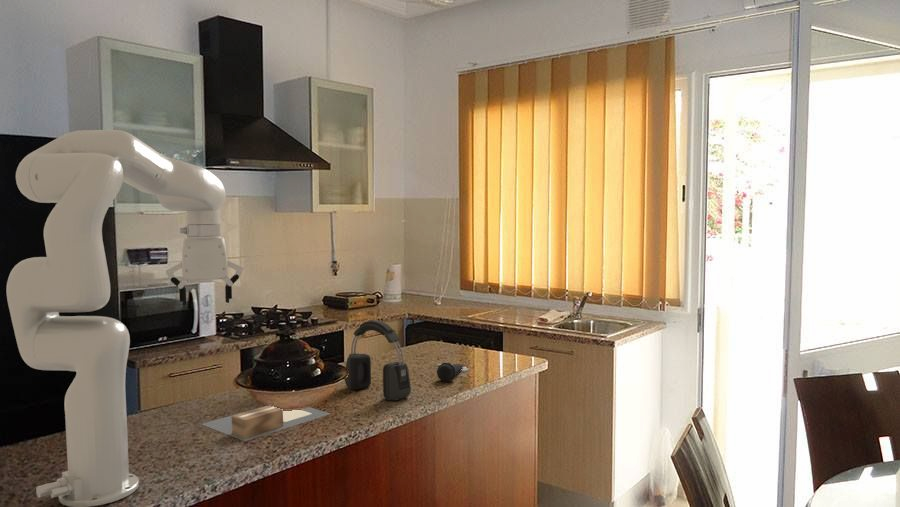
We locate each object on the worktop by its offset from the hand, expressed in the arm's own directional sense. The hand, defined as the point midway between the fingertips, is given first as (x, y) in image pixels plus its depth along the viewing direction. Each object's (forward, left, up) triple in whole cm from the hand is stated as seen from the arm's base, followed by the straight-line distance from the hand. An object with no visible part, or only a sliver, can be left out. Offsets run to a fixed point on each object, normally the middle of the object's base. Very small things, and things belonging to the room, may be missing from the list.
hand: (206, 303), depth 156 cm
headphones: (+40, -17, -28) cm, 52 cm away
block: (+1, -19, -27) cm, 33 cm away
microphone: (+68, -22, -28) cm, 77 cm away
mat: (+7, -14, -28) cm, 32 cm away
